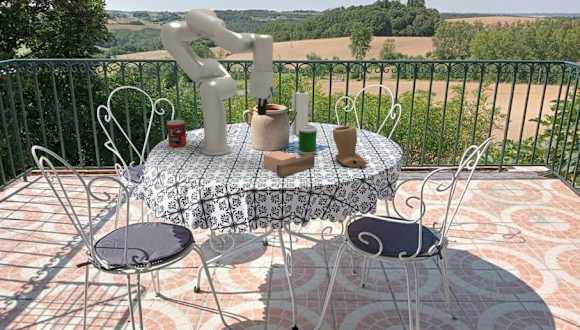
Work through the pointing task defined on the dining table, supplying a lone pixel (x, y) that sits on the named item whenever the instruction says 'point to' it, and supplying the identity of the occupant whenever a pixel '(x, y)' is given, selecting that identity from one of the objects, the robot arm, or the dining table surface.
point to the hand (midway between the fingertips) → (261, 114)
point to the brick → (276, 159)
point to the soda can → (307, 139)
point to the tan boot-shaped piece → (347, 146)
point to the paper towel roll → (300, 110)
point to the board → (295, 165)
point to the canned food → (176, 133)
